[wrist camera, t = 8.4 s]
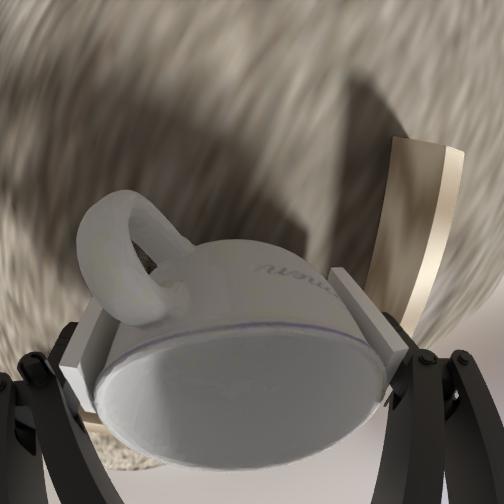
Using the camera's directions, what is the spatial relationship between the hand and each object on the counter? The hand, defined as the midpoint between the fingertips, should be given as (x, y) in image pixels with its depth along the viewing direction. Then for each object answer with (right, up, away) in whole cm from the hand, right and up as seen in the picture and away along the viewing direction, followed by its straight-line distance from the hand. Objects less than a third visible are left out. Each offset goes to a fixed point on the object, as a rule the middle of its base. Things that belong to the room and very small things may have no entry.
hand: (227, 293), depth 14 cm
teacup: (-1, 0, +1) cm, 1 cm away
